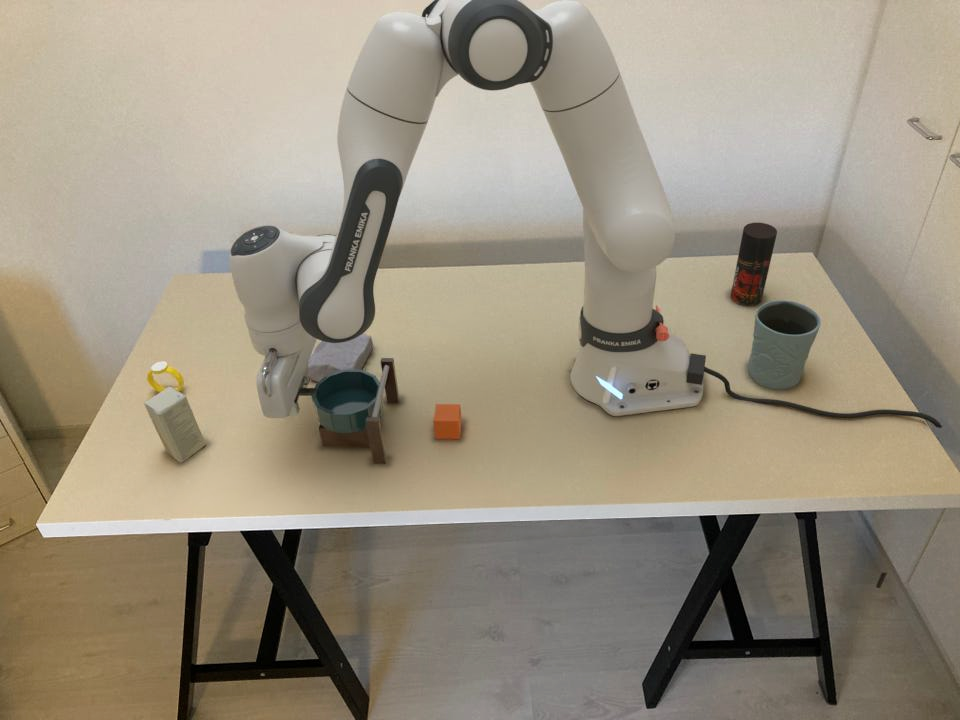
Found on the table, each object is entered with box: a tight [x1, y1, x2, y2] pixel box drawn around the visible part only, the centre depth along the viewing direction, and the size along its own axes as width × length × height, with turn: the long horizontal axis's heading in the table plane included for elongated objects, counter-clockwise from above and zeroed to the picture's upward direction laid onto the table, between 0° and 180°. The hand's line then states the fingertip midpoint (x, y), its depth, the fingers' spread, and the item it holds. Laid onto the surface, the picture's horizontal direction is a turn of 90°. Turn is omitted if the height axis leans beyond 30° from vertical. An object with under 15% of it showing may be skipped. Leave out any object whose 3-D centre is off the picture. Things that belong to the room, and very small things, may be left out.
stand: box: [318, 357, 400, 464], centre depth 124 cm, size 11×15×9 cm
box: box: [143, 385, 207, 463], centre depth 121 cm, size 5×4×11 cm
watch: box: [146, 360, 185, 393], centre depth 134 cm, size 6×3×6 cm, turn 83°
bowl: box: [294, 365, 389, 433], centre depth 123 cm, size 15×12×4 cm
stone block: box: [308, 333, 374, 383], centre depth 139 cm, size 12×5×10 cm
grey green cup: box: [747, 300, 822, 391], centre depth 129 cm, size 10×10×12 cm
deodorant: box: [730, 222, 778, 307], centre depth 146 cm, size 6×6×15 cm
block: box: [432, 403, 463, 440], centre depth 124 cm, size 4×4×4 cm
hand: (299, 399), depth 123 cm, fingers closed on bowl, 5 cm apart
